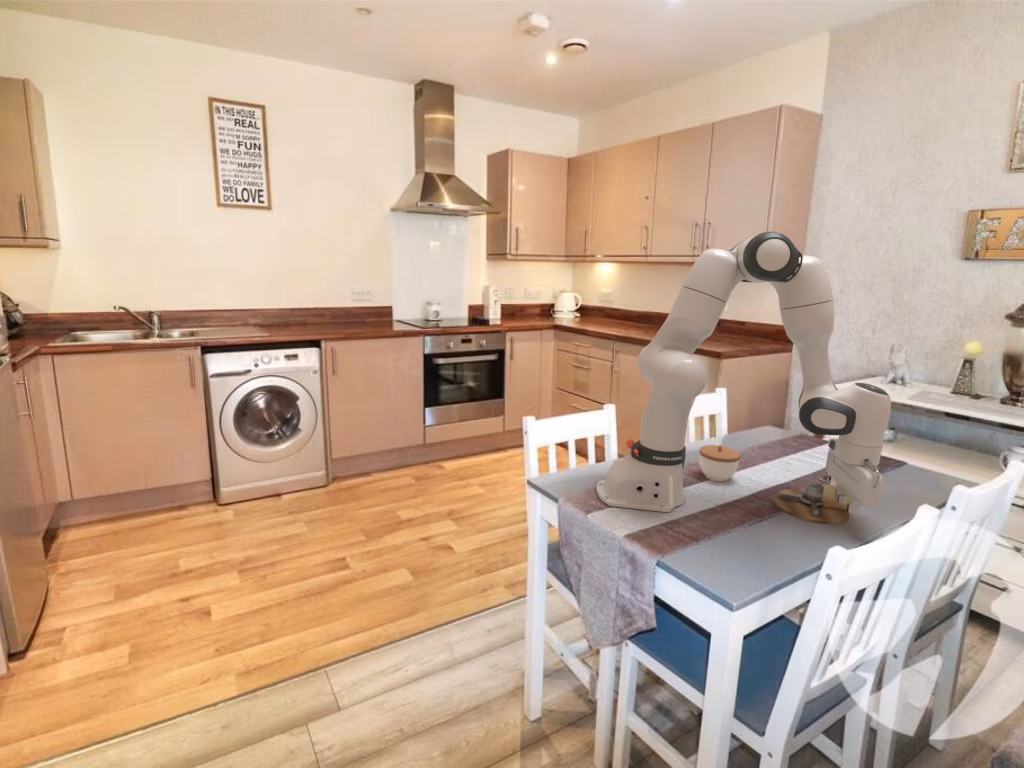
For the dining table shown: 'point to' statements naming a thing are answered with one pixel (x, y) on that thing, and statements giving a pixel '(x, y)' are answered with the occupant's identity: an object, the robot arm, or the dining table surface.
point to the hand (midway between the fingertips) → (845, 506)
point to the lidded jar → (718, 462)
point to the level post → (833, 482)
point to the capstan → (817, 496)
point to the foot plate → (804, 511)
